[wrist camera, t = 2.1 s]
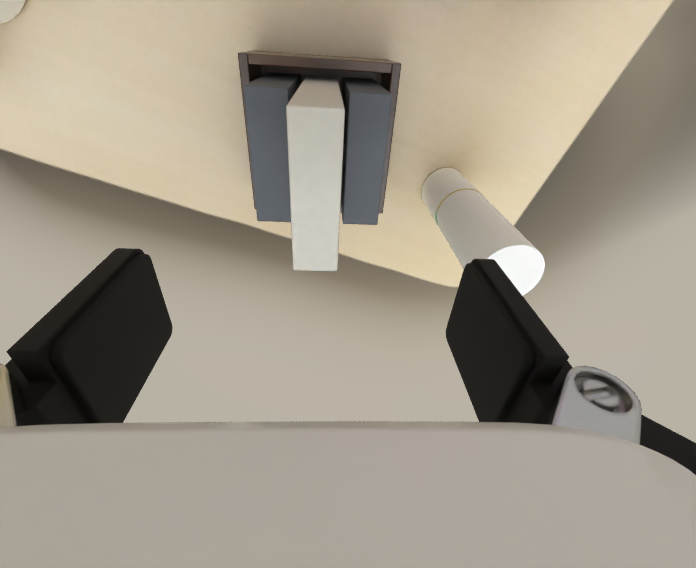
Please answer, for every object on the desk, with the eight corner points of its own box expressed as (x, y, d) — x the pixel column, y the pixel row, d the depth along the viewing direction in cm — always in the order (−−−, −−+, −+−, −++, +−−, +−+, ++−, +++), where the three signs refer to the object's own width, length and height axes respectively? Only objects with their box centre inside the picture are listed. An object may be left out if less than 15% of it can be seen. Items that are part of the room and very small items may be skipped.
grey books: (275, 174, 31) (257, 221, 23) (269, 72, 26) (243, 85, 18) (364, 178, 32) (377, 225, 24) (373, 78, 27) (392, 94, 19)
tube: (430, 163, 32) (494, 239, 20) (472, 172, 32) (558, 251, 20) (415, 205, 34) (463, 296, 22) (454, 213, 35) (522, 306, 23)
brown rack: (264, 185, 32) (254, 209, 28) (253, 50, 26) (237, 52, 22) (375, 189, 33) (382, 213, 28) (389, 60, 27) (401, 63, 22)
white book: (307, 175, 31) (293, 270, 18) (306, 74, 27) (285, 105, 14) (333, 176, 31) (337, 271, 18) (337, 76, 27) (345, 108, 14)
